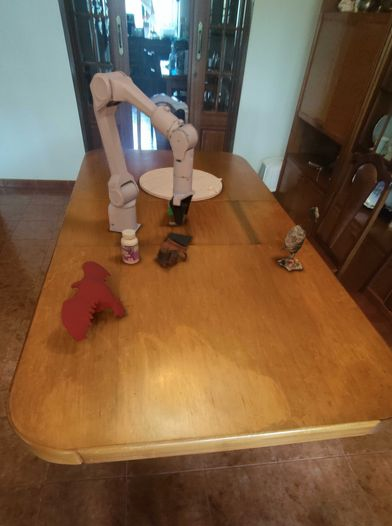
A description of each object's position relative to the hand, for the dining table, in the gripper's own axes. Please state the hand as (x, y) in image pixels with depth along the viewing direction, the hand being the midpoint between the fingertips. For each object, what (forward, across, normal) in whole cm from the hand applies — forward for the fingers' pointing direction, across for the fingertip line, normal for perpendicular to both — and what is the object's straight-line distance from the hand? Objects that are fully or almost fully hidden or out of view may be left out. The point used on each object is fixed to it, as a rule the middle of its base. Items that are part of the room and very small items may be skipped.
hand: (181, 219), depth 104 cm
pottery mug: (+10, -11, 0) cm, 15 cm away
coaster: (+10, +4, +2) cm, 11 cm away
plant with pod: (+10, +1, -38) cm, 39 cm away
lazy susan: (+10, +56, +14) cm, 59 cm away
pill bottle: (+10, -14, +13) cm, 22 cm away
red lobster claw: (+10, -41, +11) cm, 44 cm away
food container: (+10, +18, +5) cm, 21 cm away
